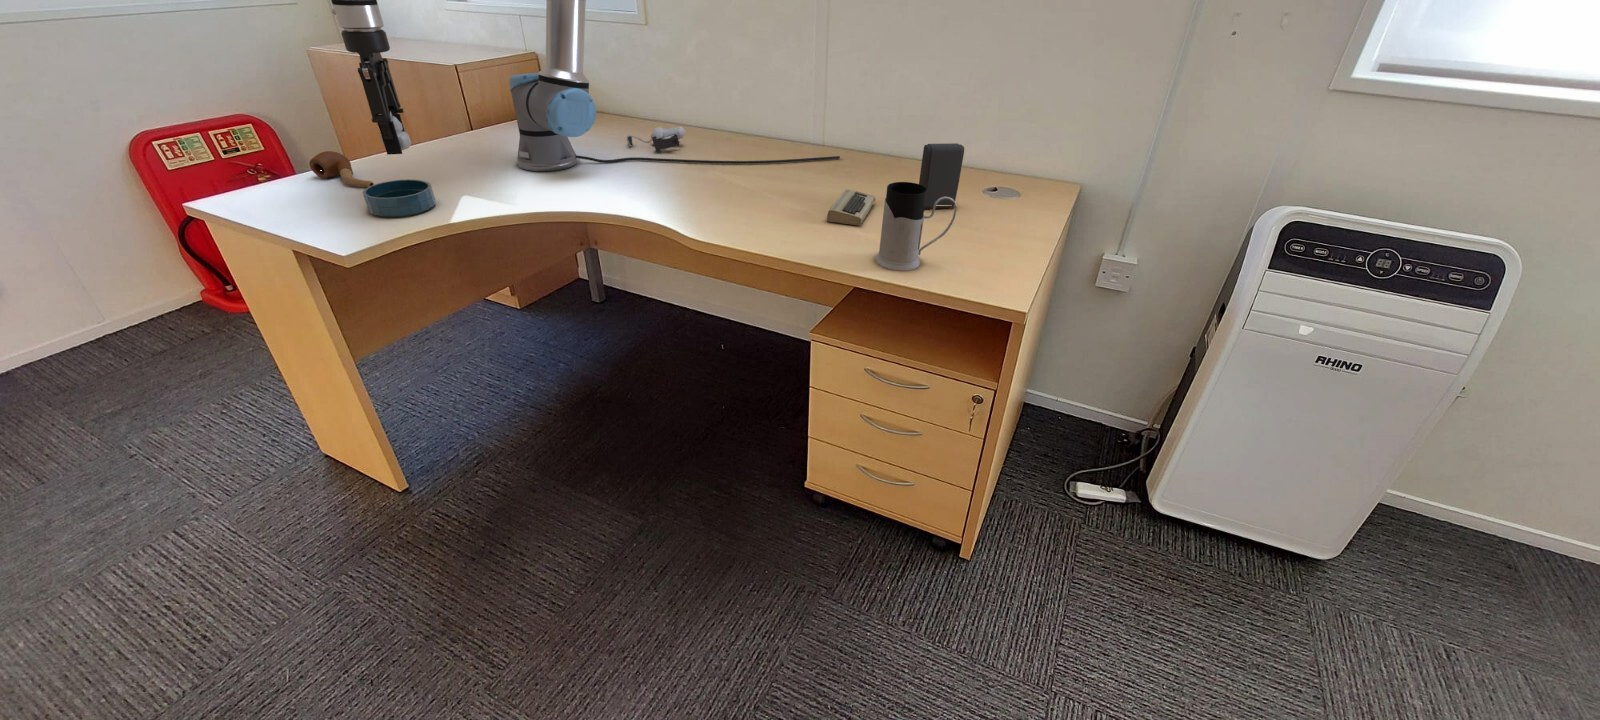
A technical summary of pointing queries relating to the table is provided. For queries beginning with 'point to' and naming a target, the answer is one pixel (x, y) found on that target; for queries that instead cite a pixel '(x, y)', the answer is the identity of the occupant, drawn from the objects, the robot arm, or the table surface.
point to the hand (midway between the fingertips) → (398, 149)
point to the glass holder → (904, 226)
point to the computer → (850, 207)
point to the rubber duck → (400, 134)
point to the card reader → (941, 173)
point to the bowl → (399, 198)
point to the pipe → (335, 168)
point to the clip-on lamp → (663, 138)
